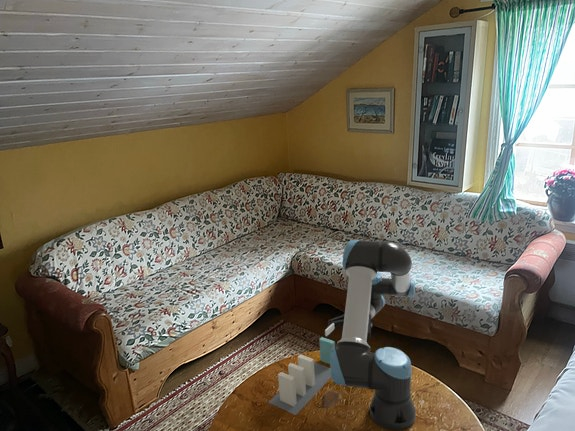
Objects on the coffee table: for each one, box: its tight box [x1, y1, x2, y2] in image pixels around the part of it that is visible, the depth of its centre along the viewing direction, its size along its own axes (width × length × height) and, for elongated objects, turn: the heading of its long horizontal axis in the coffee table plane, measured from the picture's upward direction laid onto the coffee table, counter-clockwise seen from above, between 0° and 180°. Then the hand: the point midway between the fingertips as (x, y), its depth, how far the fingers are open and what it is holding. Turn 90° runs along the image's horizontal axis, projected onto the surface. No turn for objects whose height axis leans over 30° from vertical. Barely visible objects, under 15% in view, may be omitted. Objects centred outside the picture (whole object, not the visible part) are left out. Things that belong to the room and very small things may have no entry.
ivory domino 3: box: [297, 354, 315, 387], centre depth 172 cm, size 6×2×11 cm, turn 54°
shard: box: [321, 388, 344, 410], centre depth 164 cm, size 11×8×2 cm
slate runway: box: [268, 361, 332, 416], centre depth 172 cm, size 12×28×1 cm, turn 144°
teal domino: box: [318, 336, 336, 365], centre depth 183 cm, size 6×2×11 cm, turn 54°
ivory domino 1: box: [277, 371, 297, 406], centre depth 163 cm, size 6×2×11 cm, turn 54°
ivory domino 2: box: [287, 362, 306, 396], centre depth 167 cm, size 6×2×11 cm, turn 54°
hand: (339, 338), depth 190 cm, fingers open, 13 cm apart
